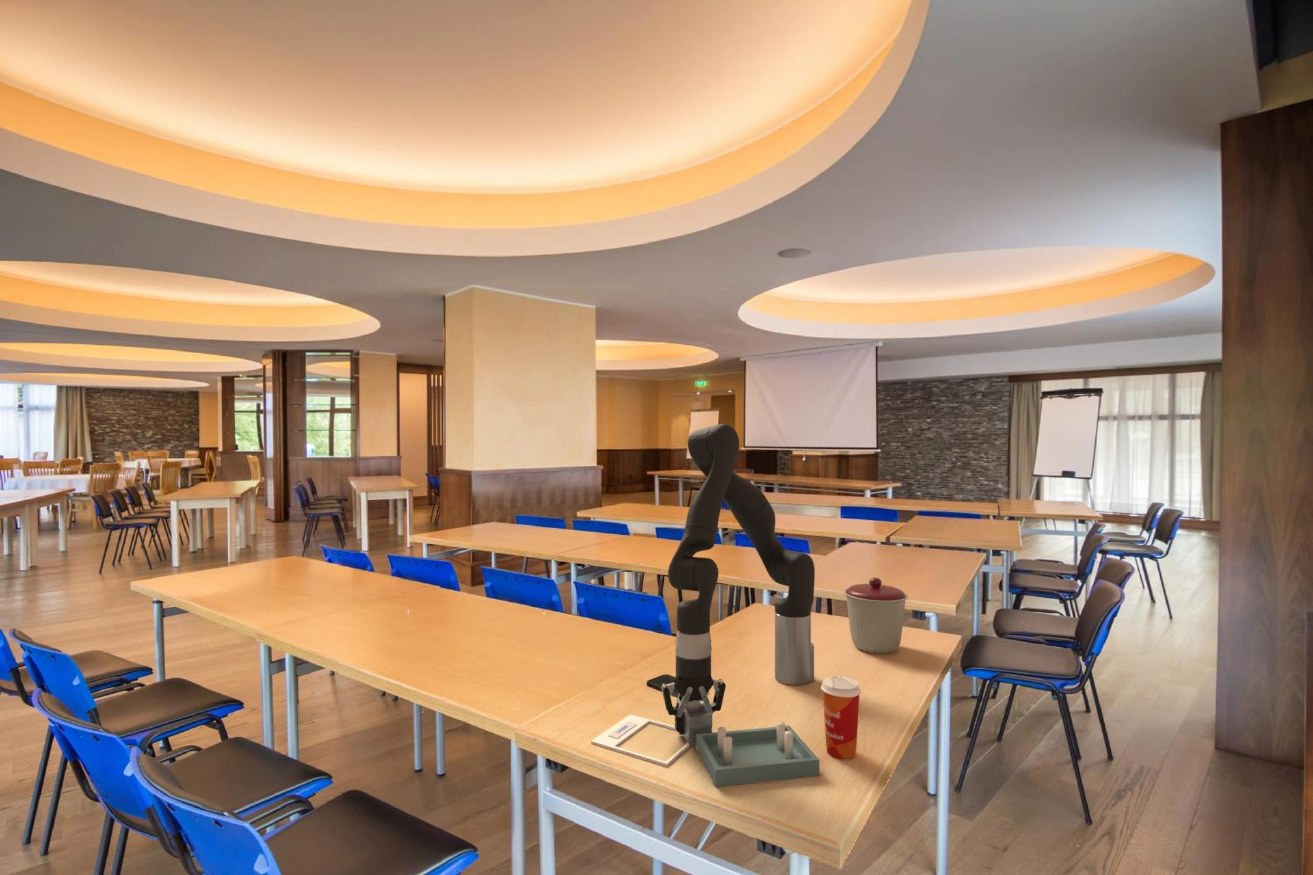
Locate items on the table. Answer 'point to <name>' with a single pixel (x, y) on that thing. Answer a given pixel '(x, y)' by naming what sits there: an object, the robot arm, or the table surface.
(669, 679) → the phone
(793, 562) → the robot arm
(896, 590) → the canister
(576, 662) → the table surface
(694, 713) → the block
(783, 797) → the table surface
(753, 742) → the tray
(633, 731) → the photo frame
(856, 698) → the paper cup
